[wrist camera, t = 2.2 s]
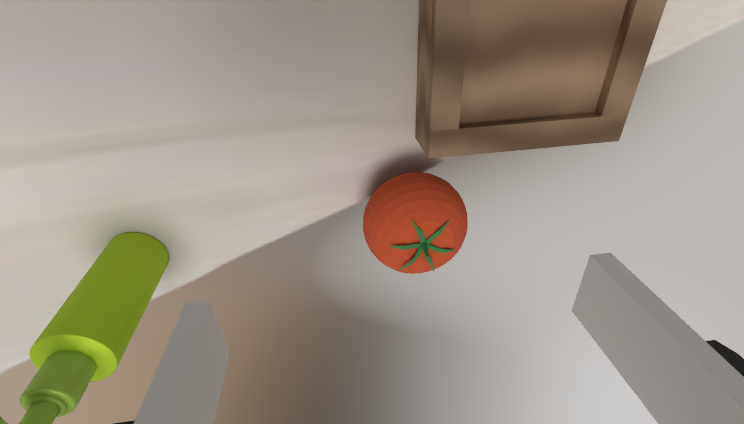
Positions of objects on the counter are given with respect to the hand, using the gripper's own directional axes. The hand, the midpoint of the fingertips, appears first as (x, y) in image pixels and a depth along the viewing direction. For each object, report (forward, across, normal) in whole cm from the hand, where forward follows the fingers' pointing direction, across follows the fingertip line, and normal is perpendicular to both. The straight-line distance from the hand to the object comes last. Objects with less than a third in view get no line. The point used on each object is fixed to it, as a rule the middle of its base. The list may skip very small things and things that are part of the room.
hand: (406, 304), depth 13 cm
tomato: (+26, +5, -11) cm, 28 cm away
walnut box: (+25, +15, +5) cm, 30 cm away
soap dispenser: (+25, -24, -14) cm, 38 cm away
